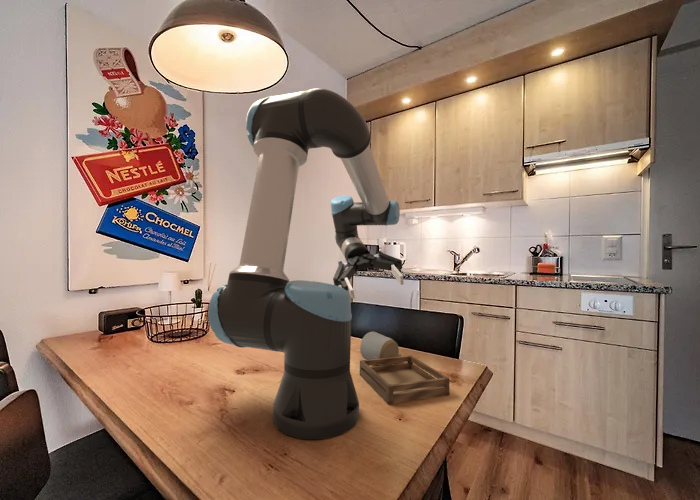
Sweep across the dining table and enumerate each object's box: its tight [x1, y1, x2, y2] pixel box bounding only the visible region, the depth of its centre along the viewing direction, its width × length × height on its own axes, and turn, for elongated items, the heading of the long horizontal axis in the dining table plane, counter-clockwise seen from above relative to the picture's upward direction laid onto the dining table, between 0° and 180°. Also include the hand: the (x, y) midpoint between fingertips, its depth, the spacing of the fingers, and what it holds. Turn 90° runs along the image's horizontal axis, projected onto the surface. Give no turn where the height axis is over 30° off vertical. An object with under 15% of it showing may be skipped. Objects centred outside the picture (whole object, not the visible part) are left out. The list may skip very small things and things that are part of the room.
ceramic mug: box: [359, 331, 402, 366], centre depth 84 cm, size 11×8×8 cm
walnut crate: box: [359, 355, 450, 405], centre depth 69 cm, size 14×15×3 cm
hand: (377, 287), depth 81 cm, fingers open, 13 cm apart
